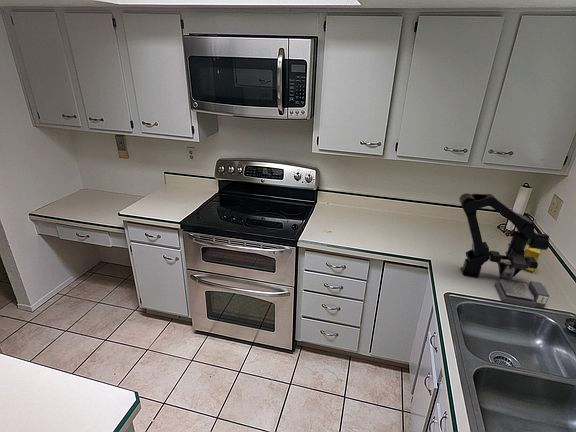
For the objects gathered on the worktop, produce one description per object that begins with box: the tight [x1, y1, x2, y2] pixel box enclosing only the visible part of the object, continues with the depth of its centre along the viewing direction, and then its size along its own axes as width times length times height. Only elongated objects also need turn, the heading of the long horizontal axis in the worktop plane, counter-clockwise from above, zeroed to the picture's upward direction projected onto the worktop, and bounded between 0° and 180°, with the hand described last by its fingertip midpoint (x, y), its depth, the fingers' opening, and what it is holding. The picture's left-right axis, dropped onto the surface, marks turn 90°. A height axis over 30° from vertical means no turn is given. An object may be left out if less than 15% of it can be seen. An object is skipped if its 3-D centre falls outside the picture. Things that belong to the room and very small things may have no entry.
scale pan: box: [499, 279, 534, 300], centre depth 148 cm, size 10×10×1 cm
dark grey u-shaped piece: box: [494, 280, 550, 309], centre depth 148 cm, size 16×12×6 cm
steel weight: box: [498, 260, 516, 281], centre depth 159 cm, size 5×5×8 cm
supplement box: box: [521, 244, 542, 273], centre depth 168 cm, size 6×6×11 cm
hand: (506, 275), depth 160 cm, fingers closed on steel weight, 5 cm apart
